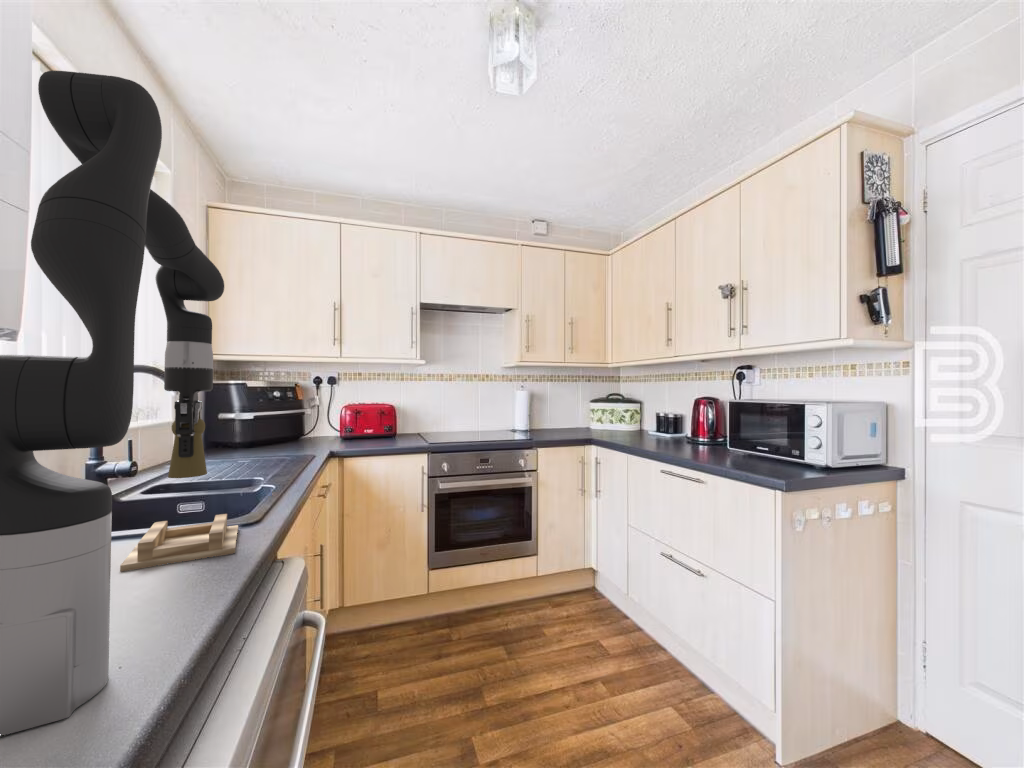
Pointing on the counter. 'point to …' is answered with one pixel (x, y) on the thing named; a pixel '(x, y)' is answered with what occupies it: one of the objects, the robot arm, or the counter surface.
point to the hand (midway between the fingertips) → (188, 454)
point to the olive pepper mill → (188, 464)
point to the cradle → (182, 543)
